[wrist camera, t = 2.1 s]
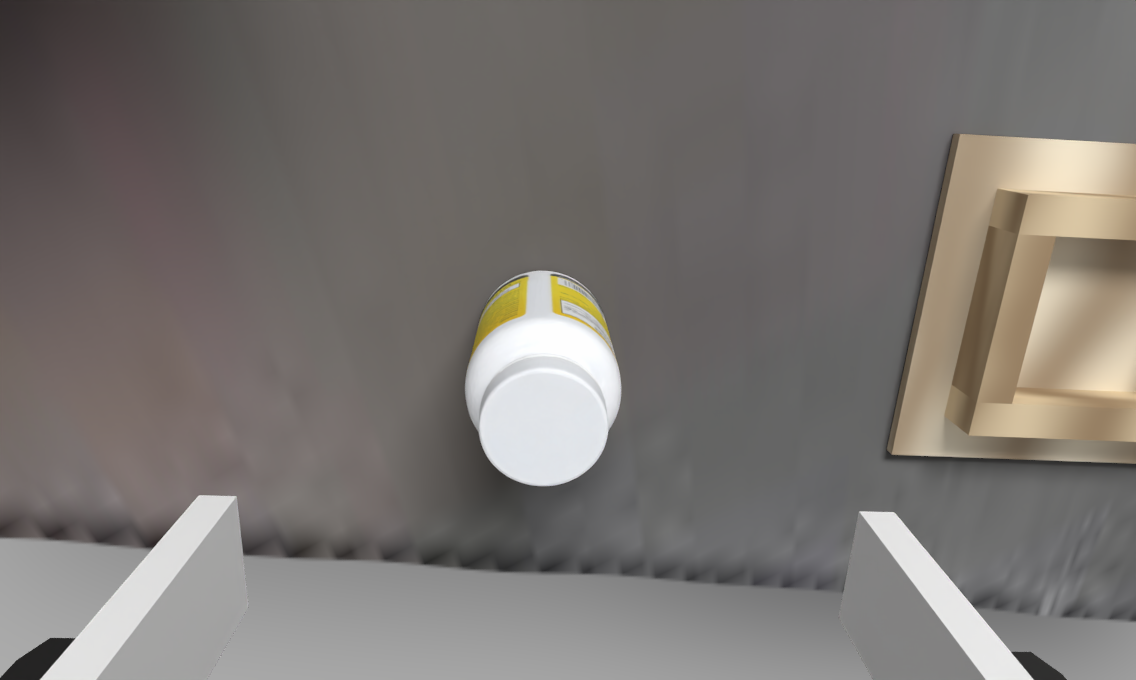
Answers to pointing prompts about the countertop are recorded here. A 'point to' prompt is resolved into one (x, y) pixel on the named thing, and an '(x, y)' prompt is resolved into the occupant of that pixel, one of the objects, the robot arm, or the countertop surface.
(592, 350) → the supplement bottle
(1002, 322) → the beige square tray
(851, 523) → the countertop surface
